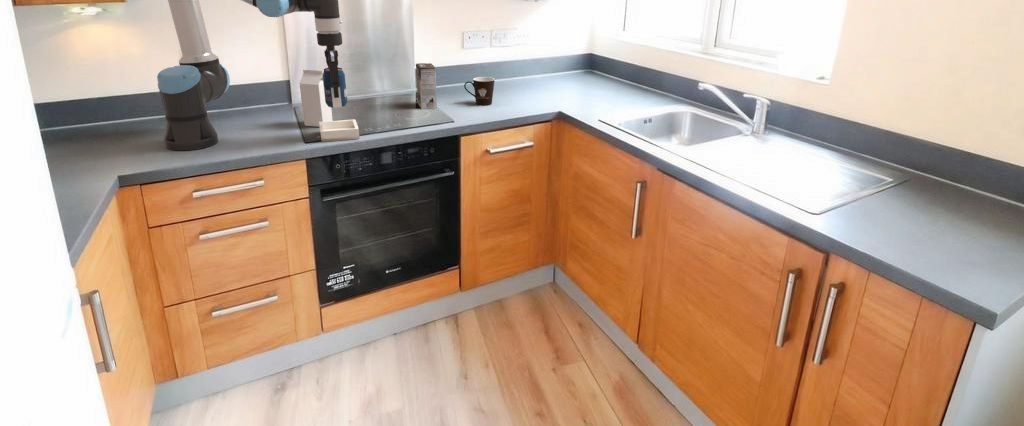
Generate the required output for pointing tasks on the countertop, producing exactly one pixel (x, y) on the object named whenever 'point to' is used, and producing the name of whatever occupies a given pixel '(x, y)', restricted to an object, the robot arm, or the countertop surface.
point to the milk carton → (314, 98)
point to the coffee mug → (482, 90)
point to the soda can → (328, 90)
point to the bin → (339, 130)
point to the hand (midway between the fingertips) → (336, 104)
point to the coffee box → (426, 85)
